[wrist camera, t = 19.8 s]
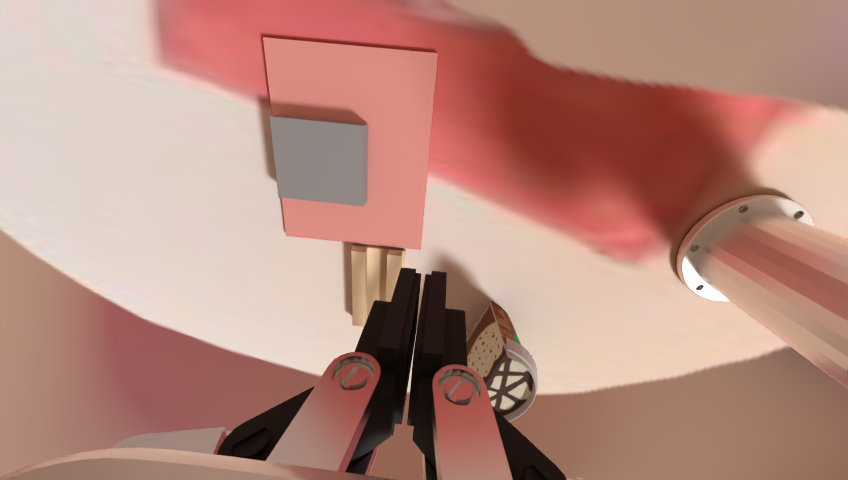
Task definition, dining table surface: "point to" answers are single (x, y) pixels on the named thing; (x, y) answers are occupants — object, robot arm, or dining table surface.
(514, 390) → the half round cake
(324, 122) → the grey square slab
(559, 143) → the dining table surface
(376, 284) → the stand
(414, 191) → the mat
